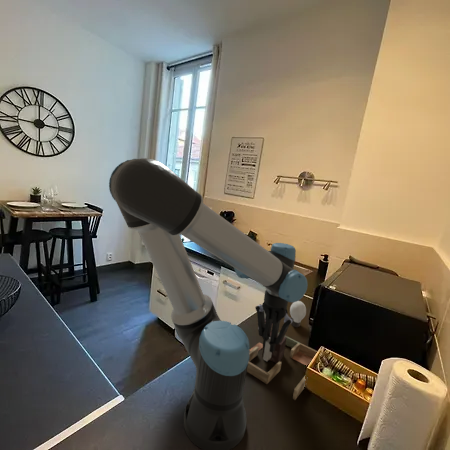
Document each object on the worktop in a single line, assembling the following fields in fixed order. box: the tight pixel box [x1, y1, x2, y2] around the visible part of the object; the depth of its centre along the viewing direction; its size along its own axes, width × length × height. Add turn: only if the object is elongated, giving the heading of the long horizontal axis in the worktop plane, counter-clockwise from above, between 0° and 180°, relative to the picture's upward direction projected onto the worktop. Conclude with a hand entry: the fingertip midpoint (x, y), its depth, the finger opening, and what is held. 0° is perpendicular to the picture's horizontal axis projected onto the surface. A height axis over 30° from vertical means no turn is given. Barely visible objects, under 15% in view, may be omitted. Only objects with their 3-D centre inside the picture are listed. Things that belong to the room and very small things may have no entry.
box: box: [261, 330, 288, 364], centre depth 92 cm, size 6×6×7 cm
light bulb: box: [289, 300, 307, 328], centre depth 115 cm, size 7×7×11 cm
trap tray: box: [247, 331, 318, 401], centre depth 89 cm, size 24×22×3 cm
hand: (267, 358), depth 88 cm, fingers closed
